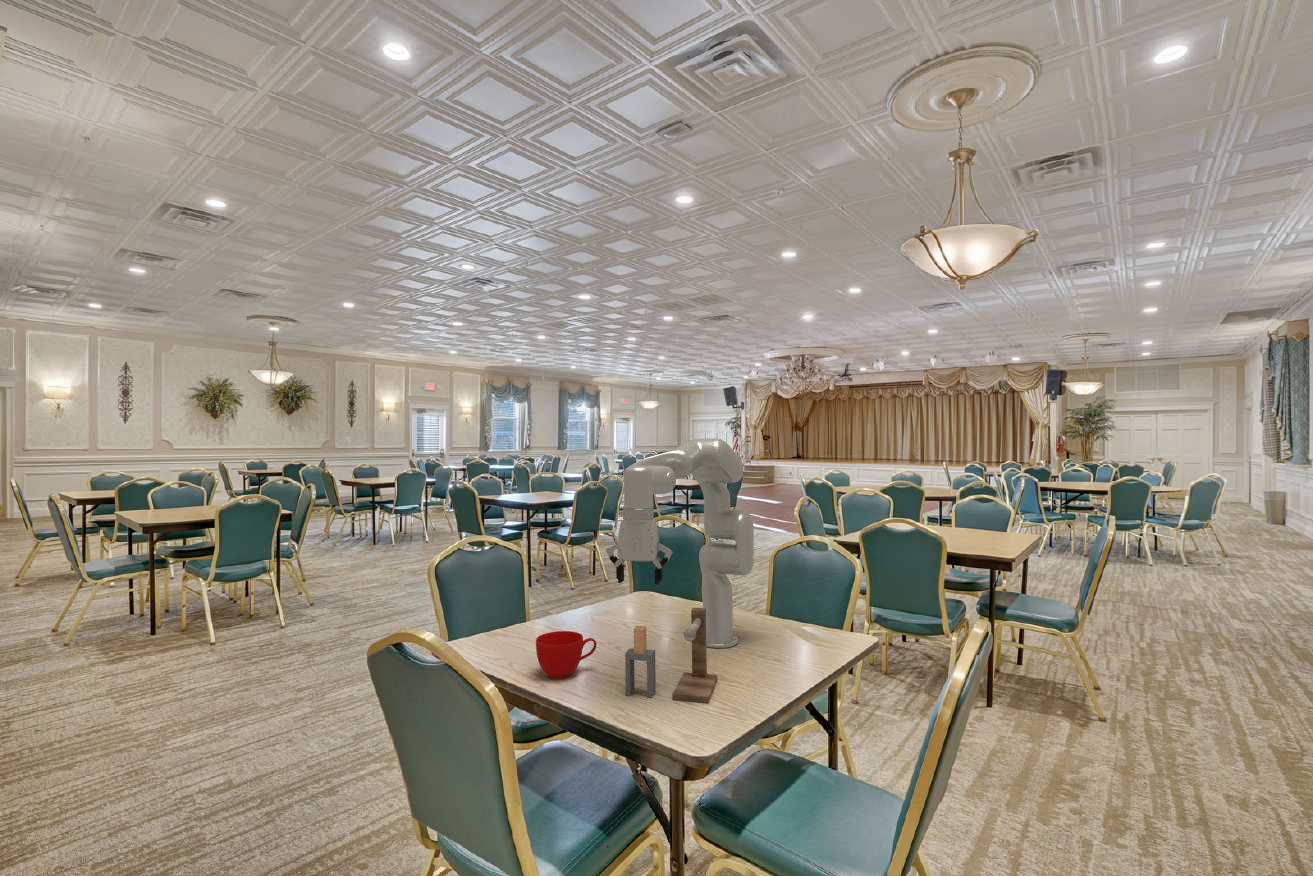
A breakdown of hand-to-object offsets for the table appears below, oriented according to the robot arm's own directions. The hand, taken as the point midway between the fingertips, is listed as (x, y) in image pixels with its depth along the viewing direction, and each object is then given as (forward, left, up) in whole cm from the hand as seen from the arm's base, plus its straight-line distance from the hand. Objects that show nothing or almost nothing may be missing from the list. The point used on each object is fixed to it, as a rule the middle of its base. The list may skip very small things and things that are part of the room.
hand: (639, 582), depth 149 cm
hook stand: (+2, +14, -28) cm, 31 cm away
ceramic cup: (-20, -16, -28) cm, 38 cm away
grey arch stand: (0, 0, -28) cm, 28 cm away
